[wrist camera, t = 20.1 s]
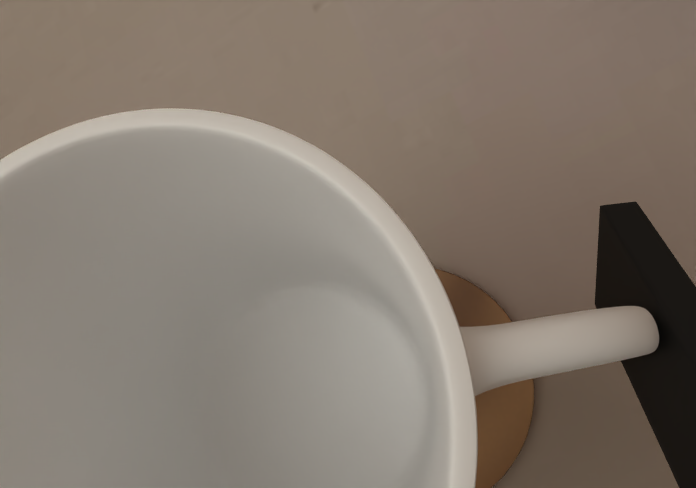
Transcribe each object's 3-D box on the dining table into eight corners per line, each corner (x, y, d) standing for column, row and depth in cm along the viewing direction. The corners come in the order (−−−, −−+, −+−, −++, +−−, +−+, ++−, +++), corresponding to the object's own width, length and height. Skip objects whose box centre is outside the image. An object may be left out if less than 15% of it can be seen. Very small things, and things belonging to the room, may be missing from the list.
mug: (551, 230, 19) (723, -4, 8) (604, 537, 17) (937, 842, 6) (173, 276, 21) (-168, 135, 9) (183, 566, 19) (-234, 862, 7)
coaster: (254, 450, 33) (251, 451, 32) (345, 234, 34) (344, 232, 34) (480, 558, 30) (481, 561, 30) (567, 319, 32) (569, 318, 32)
